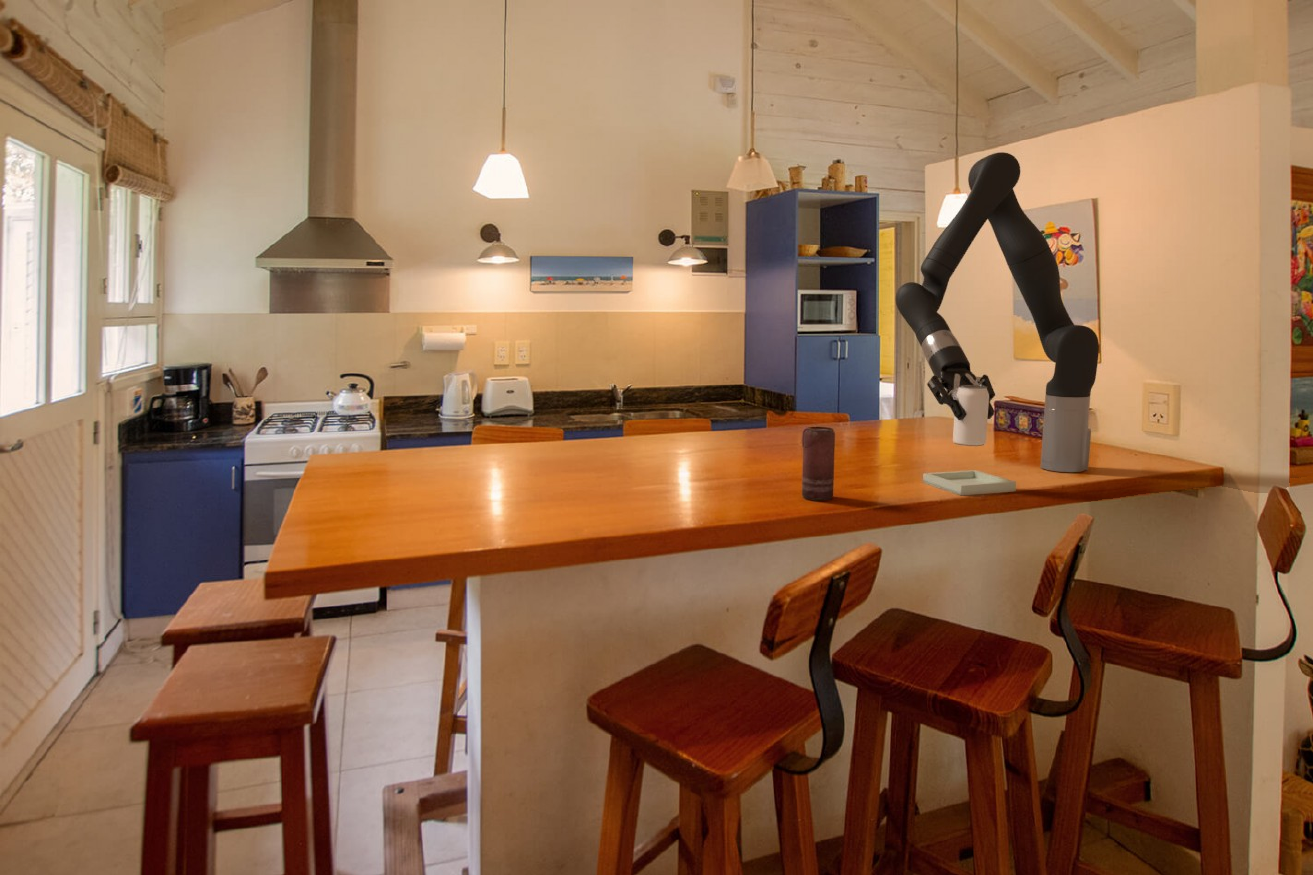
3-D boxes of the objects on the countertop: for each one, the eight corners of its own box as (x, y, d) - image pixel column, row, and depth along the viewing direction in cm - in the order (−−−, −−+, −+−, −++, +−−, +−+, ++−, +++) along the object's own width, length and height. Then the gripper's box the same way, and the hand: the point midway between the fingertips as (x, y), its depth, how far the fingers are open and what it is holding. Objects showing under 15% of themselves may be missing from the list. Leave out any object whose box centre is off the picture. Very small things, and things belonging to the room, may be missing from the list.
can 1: (797, 494, 164) (798, 426, 162) (828, 494, 165) (829, 425, 163) (805, 501, 158) (806, 430, 156) (837, 501, 159) (839, 430, 157)
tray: (974, 478, 179) (975, 470, 179) (1015, 491, 167) (1016, 481, 166) (922, 482, 176) (923, 473, 175) (960, 495, 163) (961, 485, 163)
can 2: (980, 441, 173) (984, 385, 171) (989, 446, 166) (993, 388, 164) (949, 440, 173) (952, 384, 171) (957, 446, 167) (960, 387, 165)
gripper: (923, 344, 172) (955, 407, 162) (982, 344, 176) (1016, 405, 166) (908, 368, 178) (937, 429, 168) (964, 366, 182) (996, 427, 172)
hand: (976, 417), depth 167 cm, fingers closed on can 2, 6 cm apart
